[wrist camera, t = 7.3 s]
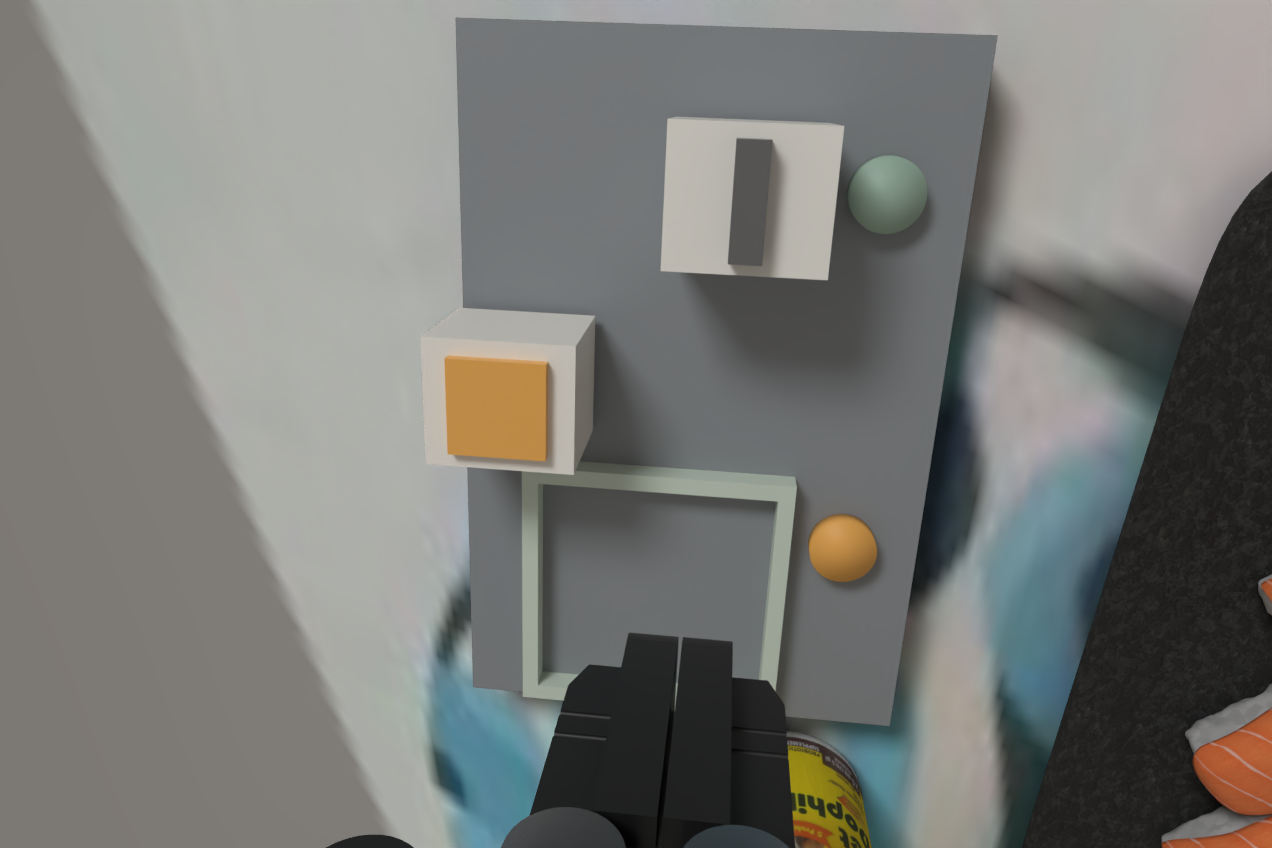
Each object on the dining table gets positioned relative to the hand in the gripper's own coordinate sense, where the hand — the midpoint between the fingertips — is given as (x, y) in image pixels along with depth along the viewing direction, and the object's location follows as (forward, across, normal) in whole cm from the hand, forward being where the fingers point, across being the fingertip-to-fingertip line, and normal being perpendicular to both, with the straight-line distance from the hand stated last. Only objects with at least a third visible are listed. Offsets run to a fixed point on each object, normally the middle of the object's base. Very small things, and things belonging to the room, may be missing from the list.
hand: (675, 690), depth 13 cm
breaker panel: (+17, 0, +1) cm, 17 cm away
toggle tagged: (+14, +5, 0) cm, 15 cm away
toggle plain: (+14, -1, -6) cm, 16 cm away
